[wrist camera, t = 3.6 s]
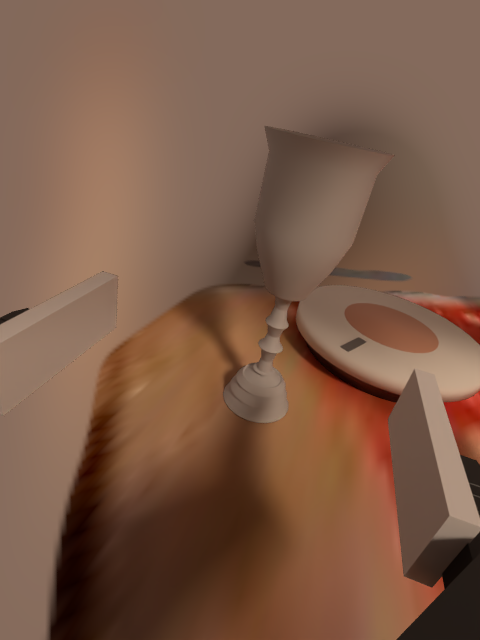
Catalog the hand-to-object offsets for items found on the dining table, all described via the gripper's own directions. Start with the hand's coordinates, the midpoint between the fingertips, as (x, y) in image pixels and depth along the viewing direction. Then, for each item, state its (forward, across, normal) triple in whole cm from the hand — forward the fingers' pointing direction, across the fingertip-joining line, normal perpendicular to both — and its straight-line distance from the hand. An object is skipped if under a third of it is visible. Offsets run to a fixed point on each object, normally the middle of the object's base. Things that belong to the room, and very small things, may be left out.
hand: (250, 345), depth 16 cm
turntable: (+21, +10, -8) cm, 25 cm away
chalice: (+9, 0, -10) cm, 13 cm away
